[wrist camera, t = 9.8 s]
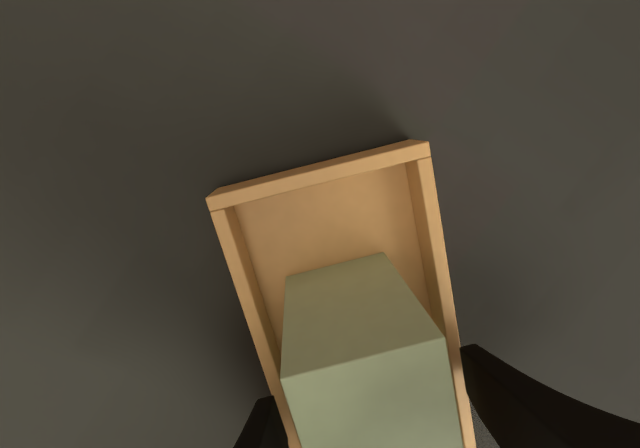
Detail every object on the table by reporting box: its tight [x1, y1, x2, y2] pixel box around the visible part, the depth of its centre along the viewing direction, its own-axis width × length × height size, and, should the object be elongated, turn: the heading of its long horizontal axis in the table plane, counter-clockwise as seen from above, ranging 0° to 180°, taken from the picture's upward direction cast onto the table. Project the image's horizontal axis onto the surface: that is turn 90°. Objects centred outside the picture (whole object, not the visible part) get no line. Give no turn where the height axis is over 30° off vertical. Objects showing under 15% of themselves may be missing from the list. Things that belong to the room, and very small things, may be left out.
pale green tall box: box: [280, 252, 464, 448], centre depth 12 cm, size 4×9×6 cm, turn 13°
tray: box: [206, 139, 476, 448], centre depth 15 cm, size 17×8×2 cm, turn 13°
